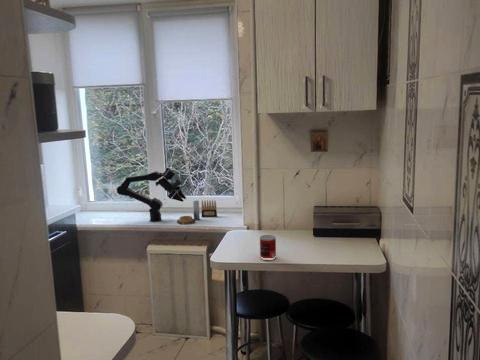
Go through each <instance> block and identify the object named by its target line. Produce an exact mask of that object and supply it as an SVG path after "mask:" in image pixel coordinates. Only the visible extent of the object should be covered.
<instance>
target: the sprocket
mask: <svg viewBox="0 0 480 360" xmlns="http://www.w3.org/2000/svg"><path fill="white" fill-rule="evenodd" d="M176 223H177V224H178V225H183V226H184V225H193V224H195V223H196V221H195V219H194V217H193V216H192V215H182V216H180V217H179V219H177V220H176Z"/></svg>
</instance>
